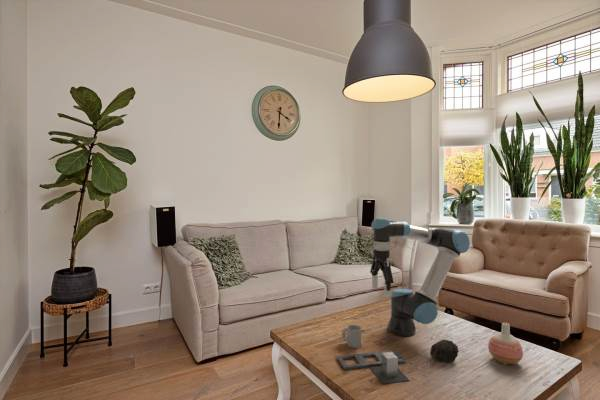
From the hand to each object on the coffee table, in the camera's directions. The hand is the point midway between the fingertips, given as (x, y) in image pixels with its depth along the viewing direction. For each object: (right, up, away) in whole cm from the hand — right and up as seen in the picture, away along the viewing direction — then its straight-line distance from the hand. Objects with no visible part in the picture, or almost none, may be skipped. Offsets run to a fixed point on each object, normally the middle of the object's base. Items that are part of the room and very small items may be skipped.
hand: (380, 292), depth 160 cm
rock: (+27, -30, -8) cm, 41 cm away
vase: (+55, -30, -10) cm, 63 cm away
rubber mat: (-2, -29, -21) cm, 36 cm away
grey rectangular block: (-2, -29, -21) cm, 36 cm away
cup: (-14, -29, +6) cm, 32 cm away
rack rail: (-7, -29, -10) cm, 31 cm away
